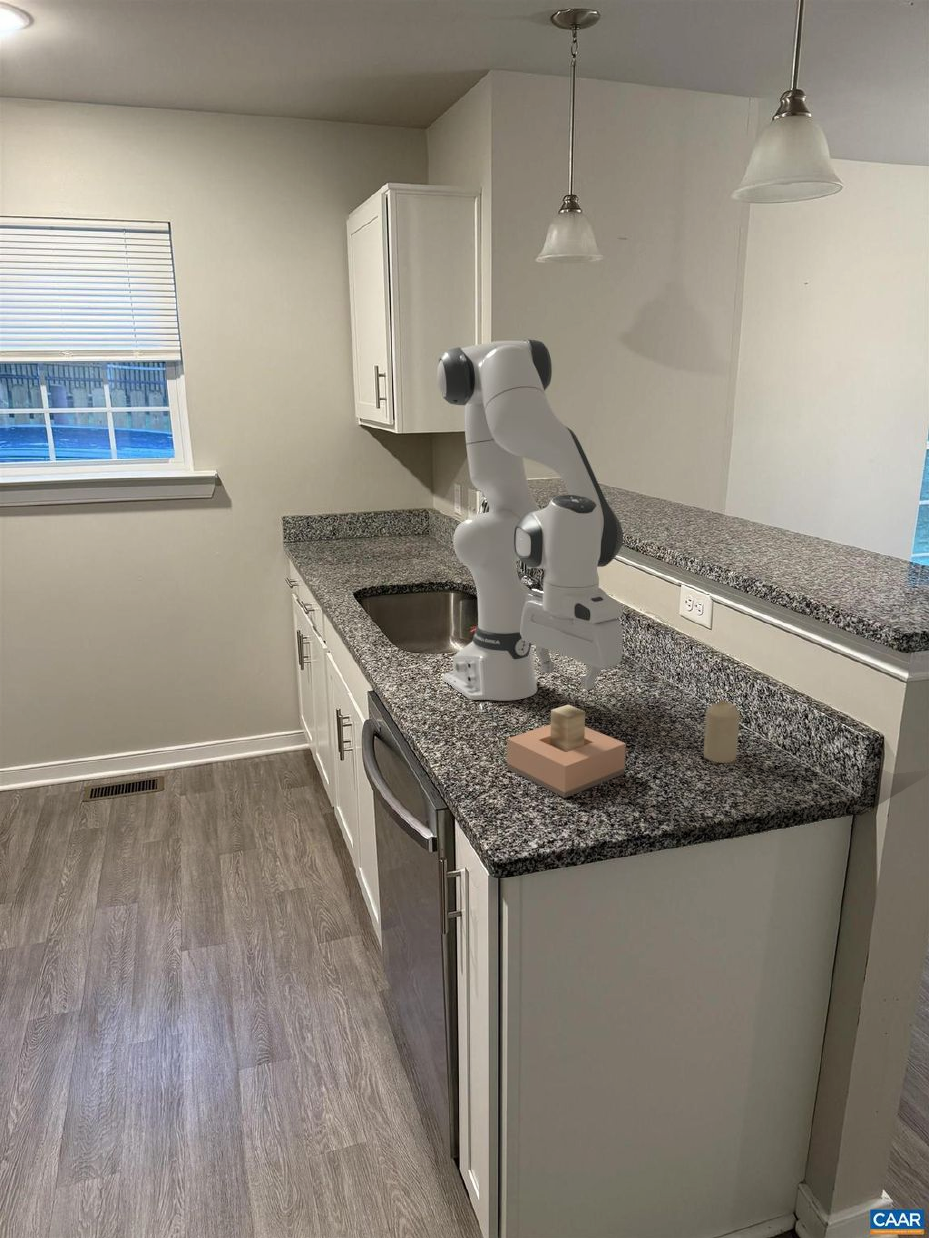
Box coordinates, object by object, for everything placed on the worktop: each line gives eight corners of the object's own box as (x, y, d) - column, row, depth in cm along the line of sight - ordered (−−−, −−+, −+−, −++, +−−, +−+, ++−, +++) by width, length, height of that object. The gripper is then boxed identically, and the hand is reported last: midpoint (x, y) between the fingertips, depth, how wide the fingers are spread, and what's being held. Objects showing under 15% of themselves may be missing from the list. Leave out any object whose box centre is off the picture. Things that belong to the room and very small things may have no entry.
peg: (549, 765, 142) (550, 709, 140) (566, 758, 145) (568, 704, 142) (566, 773, 139) (567, 716, 137) (583, 766, 142) (585, 711, 139)
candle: (705, 762, 145) (709, 708, 143) (701, 749, 150) (705, 697, 148) (738, 764, 144) (742, 710, 142) (733, 751, 150) (737, 698, 147)
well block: (507, 768, 144) (507, 738, 142) (565, 747, 152) (566, 718, 151) (564, 798, 133) (565, 766, 132) (624, 773, 141) (625, 743, 140)
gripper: (512, 588, 141) (510, 666, 145) (603, 615, 125) (598, 702, 129) (540, 583, 144) (537, 659, 148) (631, 609, 129) (625, 693, 133)
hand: (566, 679), depth 139 cm, fingers open, 8 cm apart
